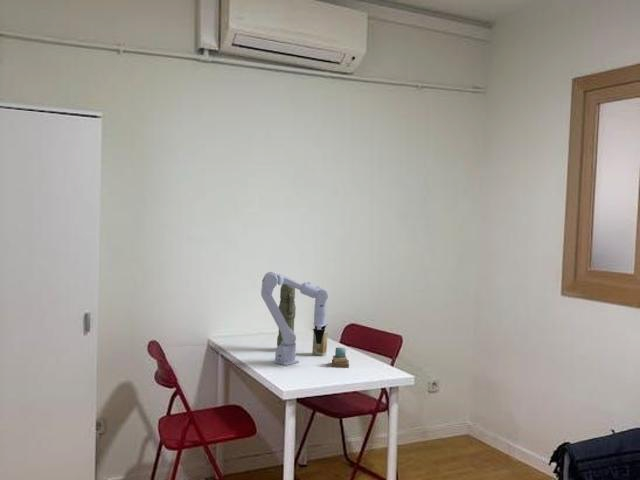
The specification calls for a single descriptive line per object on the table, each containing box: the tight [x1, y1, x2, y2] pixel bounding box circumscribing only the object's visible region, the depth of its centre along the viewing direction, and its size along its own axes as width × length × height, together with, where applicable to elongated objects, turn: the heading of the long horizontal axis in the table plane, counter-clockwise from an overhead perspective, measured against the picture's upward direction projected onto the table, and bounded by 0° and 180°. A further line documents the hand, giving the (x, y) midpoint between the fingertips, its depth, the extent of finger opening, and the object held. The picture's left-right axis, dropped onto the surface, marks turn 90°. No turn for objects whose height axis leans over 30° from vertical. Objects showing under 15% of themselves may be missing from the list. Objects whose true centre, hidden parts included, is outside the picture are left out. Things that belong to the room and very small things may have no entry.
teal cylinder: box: [334, 347, 347, 358], centre depth 270 cm, size 5×5×4 cm
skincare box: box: [311, 330, 328, 357], centre depth 289 cm, size 6×4×12 cm
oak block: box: [332, 355, 348, 363], centre depth 269 cm, size 6×6×2 cm
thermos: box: [276, 284, 297, 347], centre depth 296 cm, size 9×12×35 cm
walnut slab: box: [331, 358, 350, 369], centre depth 270 cm, size 8×8×2 cm
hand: (319, 342), depth 273 cm, fingers open, 7 cm apart
